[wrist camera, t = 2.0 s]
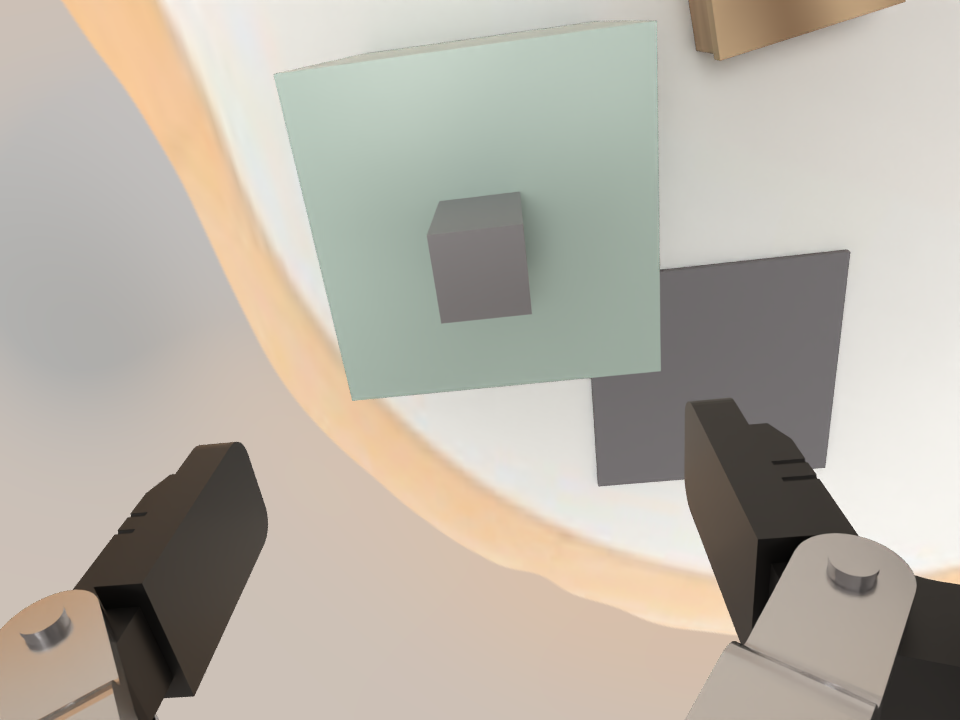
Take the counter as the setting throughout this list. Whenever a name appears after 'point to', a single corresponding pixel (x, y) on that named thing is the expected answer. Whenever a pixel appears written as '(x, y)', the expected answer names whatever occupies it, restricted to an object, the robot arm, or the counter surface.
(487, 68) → the cover
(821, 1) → the cardboard box
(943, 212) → the counter surface
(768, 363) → the mat
